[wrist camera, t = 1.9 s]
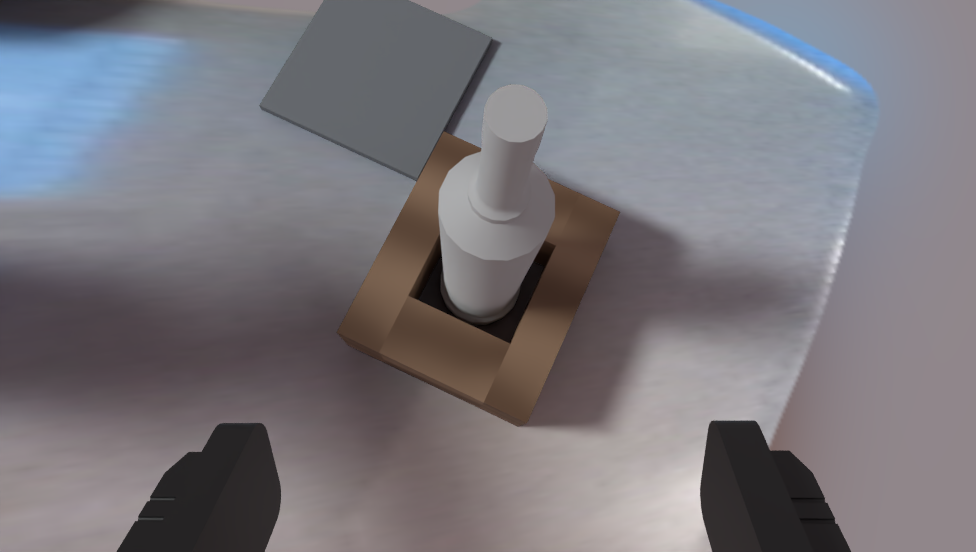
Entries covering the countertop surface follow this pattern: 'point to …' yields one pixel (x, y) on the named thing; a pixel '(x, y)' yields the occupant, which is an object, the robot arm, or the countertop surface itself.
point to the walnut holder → (451, 342)
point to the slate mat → (378, 79)
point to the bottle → (495, 210)
